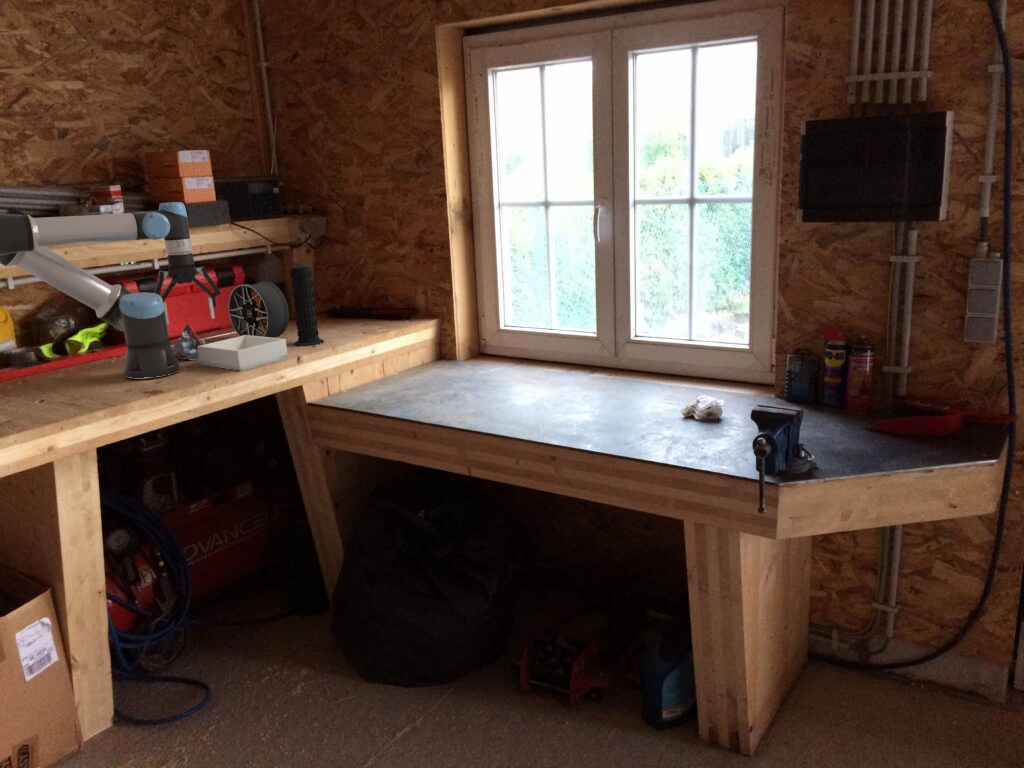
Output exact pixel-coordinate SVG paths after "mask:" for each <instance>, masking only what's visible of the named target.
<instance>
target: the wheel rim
mask: <svg viewBox="0 0 1024 768" xmlns="http://www.w3.org/2000/svg"><path fill="white" fill-rule="evenodd" d="M253 292H255V293H257V294H256V295H254V296H253V295H252V294H253ZM258 297H260V298H259V303H257V301H256V300H255V298H258ZM262 302H263V306H264V309H265V310H264V309H263V308H261V307H262ZM257 304H258V305H257ZM227 309H228V316H229V320H230V323H231V327H232V328H233V329H234V331H235V332H236V334H237V335H238V337H239V336H243V335H251V336H261V337H271V338H278V337H279V338H280V337H281V336H282V335H283V334H284V333H285V331H286V330H287V327H288V326H289V320H290V317H289V316H290V314H289V313H290V311H289V305H288V302H287V299H286V297H285V295H284V293H283V292H282V290H281V289H280V288H279V287H278V286H277V285H276V284H275V283H273V282H271V281H267V280H262V281H258V282H256V283H254V284H249V283H244V284H239V285H236V286H235V287H234V288H233V289H232V291H231V292H230V295H229V299H228V303H227ZM260 313H262V314H266V316H261V314H260ZM264 320H266V326H265V324H264ZM260 324H261V326H262V329H263V330H264V331H263V330H262V329H261V328H259V325H260Z"/></svg>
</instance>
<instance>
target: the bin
mask: <svg viewBox="0 0 1024 768" xmlns="http://www.w3.org/2000/svg"><path fill="white" fill-rule="evenodd" d="M197 348H198V355H199V359H198V360H199V361H198V362H199V366H200V365H205V366H204V367H207V366H211V367H210V368H214V367H219V368H218V369H221V368H225V369H224V370H228V369H233V370H232V371H235V370H239V371H238V372H242V371H241V370H243V371H246V369H247V370H250V369H254V368H257V367H260V365H261V366H265V365H269V364H272V363H274V362H278V361H282V360H287V359H289V355H288V347H287V339H286V338H280V337H279V338H278V337H275V338H271V337H261V336H251V335H243V336H239V335H238V336H235V337H231V338H226V339H223V340H218V341H214V342H210V343H209V342H208V343H205V345H201V346H197Z"/></svg>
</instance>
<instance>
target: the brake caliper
mask: <svg viewBox="0 0 1024 768" xmlns="http://www.w3.org/2000/svg"><path fill="white" fill-rule="evenodd" d="M205 344H206V342H205V340H204V339H202V340H200V338H199V337H198V334H197V333H196V332H195V330H194V329H193V327H192V326H191V324H190V323H187V324H185V326H184V328H183V331H182V332H180V337H179V338H177V339H175V341H174V347H173V348H171V349H172V350H173V352H174V354H175V356H176V358H186V359H197V360H199V359H198V358H199V355H198V348H197V346H201V345H205Z"/></svg>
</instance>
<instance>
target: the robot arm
mask: <svg viewBox="0 0 1024 768" xmlns="http://www.w3.org/2000/svg"><path fill="white" fill-rule="evenodd" d="M188 220H189V219H188V215H187V209H186V205H185V204H184V203H183V202H181V201H177V202H176V201H171V202H163V203H162V202H161V203H159V206H158V210H157V209H156V210H150V211H148V210H146V211H134V212H123V213H113V214H112V213H111V214H110V213H109V214H92V215H91V214H90V215H89V214H88V215H73V216H72V215H70V216H69V215H68V216H67V215H66V216H50V217H49V216H48V217H32V216H31V215H29V214H11V213H9V214H8V213H2V212H0V264H1V265H2V266H5V267H12V266H16V267H17V268H19V269H21V270H23V271H25V272H26V273H28V274H30V275H31V276H34V277H36V279H38V280H41V281H42V282H45V283H46V284H48V285H50V286H51V287H53V288H55V289H56V290H58V291H60V292H62V293H64V294H66V295H67V296H69V297H71V298H73V299H75V300H76V301H78V302H80V303H81V304H84V305H85V306H87V307H89V308H91V309H92V310H94V311H95V315H96V317H97V318H98V319H99V320H101V321H104V322H105V323H107V324H108V325H111V326H112V327H113V328H115V329H116V330H118V331H119V332H123V333H124V338H125V343H126V345H125V346H126V350H127V352H126V357H125V358H126V359H125V364H124V369H123V371H124V376H127V377H132V378H144V377H156V376H163V375H168V374H172V373H175V372H177V371H179V370H180V371H181V366H180V363H179V359H177V358H176V356H175V354H174V352H173V350H172V349H173V348H172V347H171V344H170V337H169V330H168V325H170V320H169V319H170V317H169V312H168V308H167V303H166V302H165V301H166V299H167V298H168V296H169V295H170V293H171V292H172V290H173V289H174V287H176V285H177V284H179V285H183V284H191V283H192V282H193V283H195V284H196V285H197V286H198V287H199V288H200V289H201V290H203V291H204V292H205V293H206V294H208V295H209V296H208V297H207V300H208V306H209V313H210V318H211V319H215V310H214V308H216V307H217V302H216V297H217V296H220V295H221V291H220V289H219V288H218V287H217V285H216V283H215V282H214V281H213V279H212V278H211V277H210V275H209V274H208V271H207V268H206V267H205V266H201V267H196V265H195V260H194V253H192V251H193V246H192V242H191V241H192V240H191V235H190V228H189V221H188ZM161 239H163V240H164V244H165V251H166V253H167V254H168V255H167V256H166V257H167V264H168V271H165V270H164V271H163V270H159V271H158V280H157V283H156V286H155V288H154V292H143V291H142V292H133V291H131V290H130V289H128V288H126V287H125V286H123V285H121V284H120V283H119V284H113V285H111V284H109V283H107V282H106V281H104V280H103V279H101V278H99V277H98V276H95V275H94V274H92V273H90V272H88V271H87V270H85V269H83V268H82V267H80V266H79V265H77V264H75V263H73V262H72V261H70V260H68V259H67V258H65V257H64V256H61V255H59V254H58V253H56V252H54V251H53V250H51V249H49V248H47V247H52V246H66V245H79V244H94V243H108V242H110V243H111V242H126V241H141V240H145V241H146V240H154V241H156V240H161ZM198 273H199V274H200V275H202V276H203V277H204V279H205V280H206V281H207V284H209V286H210V287H211V289H212V290H213V292H212V291H211V290H210V289H209V288H207V286H206V285H204V284H203V283H202V282H201V281H200V280H199V279H198V278H196V275H197V274H198ZM167 276H169V277H170V278H171V280H170V282H169V284H168V285H167V287H166V288H165V289H164V291H163V293H162V294H161V295H160V292H161V290H162V286H163V283H164V280H165V279H167ZM180 371H179V372H180ZM177 373H178V372H177ZM175 374H176V373H175ZM172 375H173V374H172Z"/></svg>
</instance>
